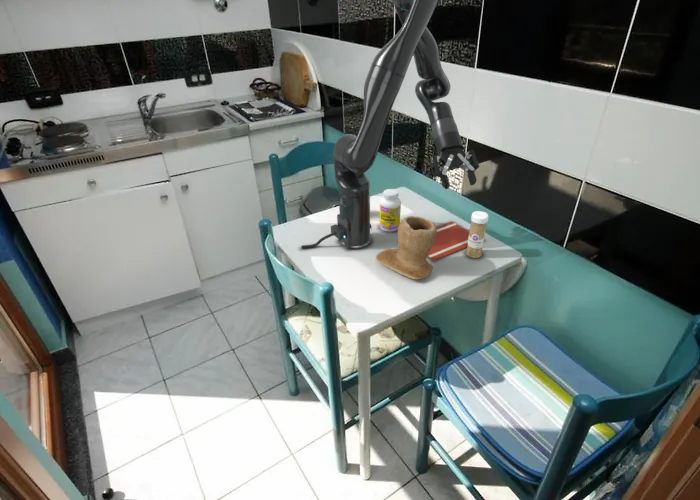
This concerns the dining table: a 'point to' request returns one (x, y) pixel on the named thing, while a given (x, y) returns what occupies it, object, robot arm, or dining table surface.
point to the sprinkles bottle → (477, 234)
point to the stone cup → (411, 248)
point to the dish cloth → (448, 240)
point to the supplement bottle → (390, 210)
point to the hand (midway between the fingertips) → (460, 186)
